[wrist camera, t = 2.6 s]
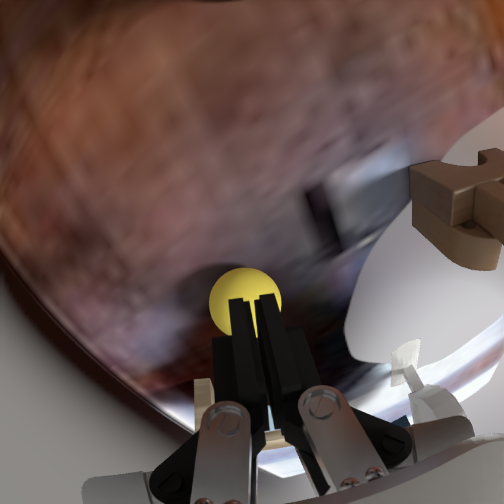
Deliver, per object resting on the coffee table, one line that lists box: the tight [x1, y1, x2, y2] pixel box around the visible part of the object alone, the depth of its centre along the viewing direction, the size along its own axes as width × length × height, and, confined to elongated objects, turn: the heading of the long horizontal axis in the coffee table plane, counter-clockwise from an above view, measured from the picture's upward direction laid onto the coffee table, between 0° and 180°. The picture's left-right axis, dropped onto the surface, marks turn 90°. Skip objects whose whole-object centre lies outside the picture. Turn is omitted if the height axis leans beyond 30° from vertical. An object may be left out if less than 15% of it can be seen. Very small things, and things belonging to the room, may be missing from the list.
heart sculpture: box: [391, 339, 467, 424], centre depth 33 cm, size 16×5×18 cm, turn 21°
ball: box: [209, 268, 281, 337], centre depth 25 cm, size 6×6×6 cm
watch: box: [392, 415, 411, 428], centre depth 51 cm, size 6×8×11 cm
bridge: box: [194, 378, 293, 451], centre depth 32 cm, size 3×15×10 cm, turn 94°
